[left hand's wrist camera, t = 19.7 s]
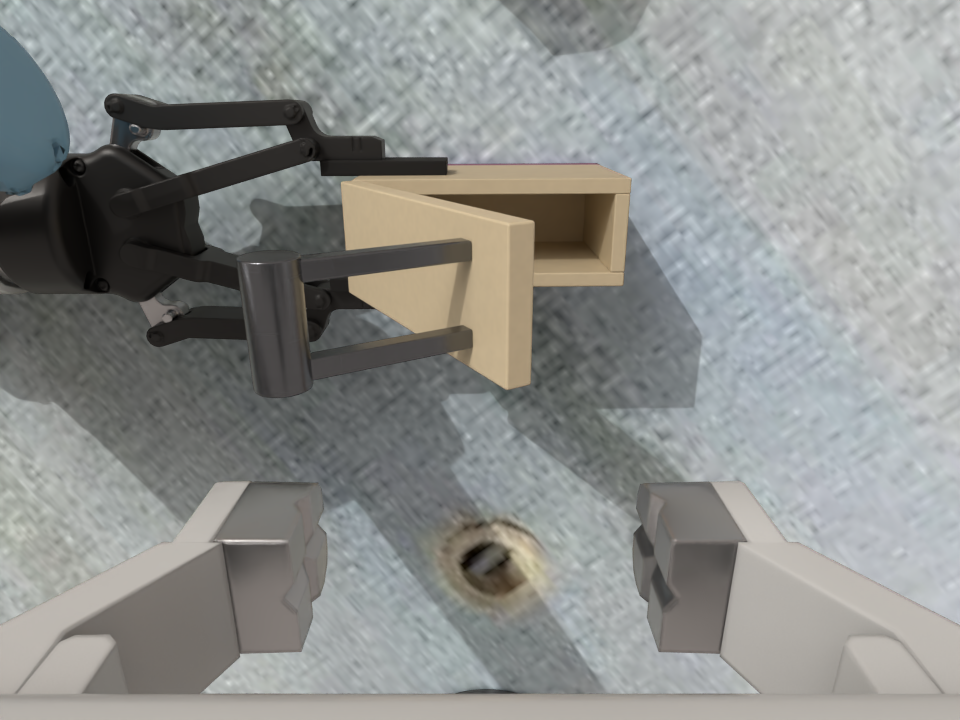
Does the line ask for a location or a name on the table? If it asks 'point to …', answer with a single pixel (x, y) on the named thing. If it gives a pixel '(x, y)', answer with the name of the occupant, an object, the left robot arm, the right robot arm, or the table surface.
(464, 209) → the lid
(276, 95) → the table surface
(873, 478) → the table surface
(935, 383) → the table surface
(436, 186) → the chest
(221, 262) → the right robot arm
